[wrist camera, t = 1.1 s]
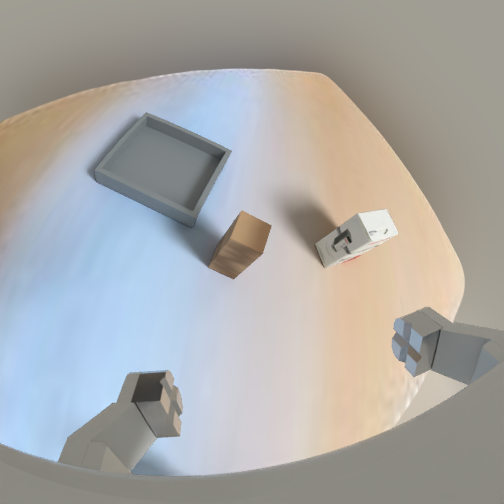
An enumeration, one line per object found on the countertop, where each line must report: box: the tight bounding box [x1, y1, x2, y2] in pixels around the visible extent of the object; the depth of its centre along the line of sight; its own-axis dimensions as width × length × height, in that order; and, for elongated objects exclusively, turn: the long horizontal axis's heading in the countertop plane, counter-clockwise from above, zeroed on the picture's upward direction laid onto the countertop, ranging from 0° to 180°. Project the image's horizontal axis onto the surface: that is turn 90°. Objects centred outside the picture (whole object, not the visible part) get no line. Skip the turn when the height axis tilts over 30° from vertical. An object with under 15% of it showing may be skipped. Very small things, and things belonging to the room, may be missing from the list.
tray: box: [95, 112, 232, 228], centre depth 40 cm, size 17×15×3 cm
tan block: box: [208, 211, 271, 279], centre depth 36 cm, size 4×4×10 cm
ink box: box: [315, 209, 398, 268], centre depth 44 cm, size 9×5×12 cm, turn 110°
